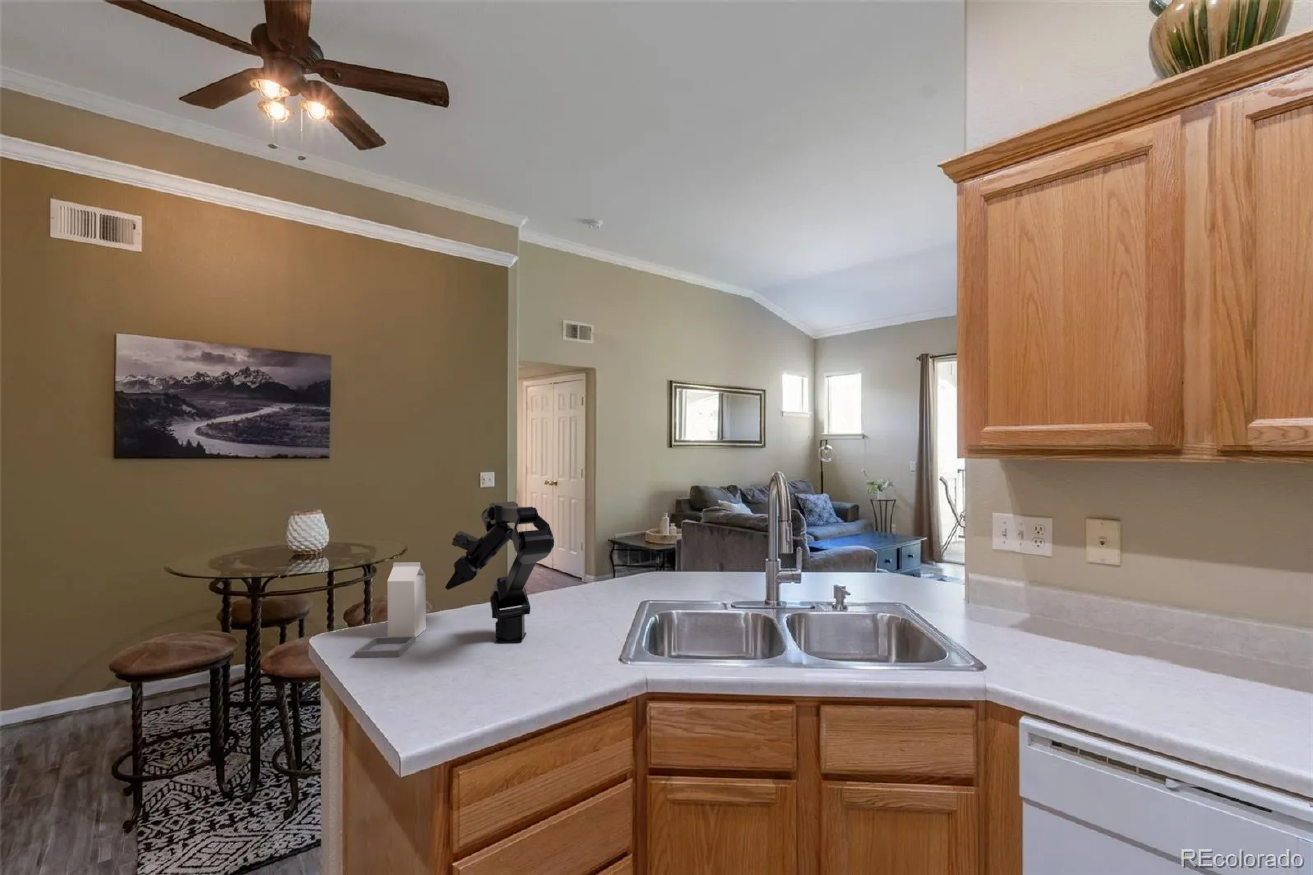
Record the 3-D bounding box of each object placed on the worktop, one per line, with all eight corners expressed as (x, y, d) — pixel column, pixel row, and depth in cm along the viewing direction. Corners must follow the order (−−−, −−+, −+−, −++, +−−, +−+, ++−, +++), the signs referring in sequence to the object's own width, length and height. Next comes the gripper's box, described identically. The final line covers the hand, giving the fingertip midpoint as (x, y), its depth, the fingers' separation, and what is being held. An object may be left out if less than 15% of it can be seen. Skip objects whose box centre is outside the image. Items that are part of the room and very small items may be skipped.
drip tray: (415, 642, 147) (415, 636, 147) (398, 657, 136) (398, 650, 136) (375, 643, 146) (375, 637, 146) (355, 658, 136) (355, 651, 136)
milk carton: (414, 639, 149) (414, 565, 149) (387, 639, 149) (387, 565, 149) (426, 630, 156) (425, 559, 156) (399, 630, 156) (399, 560, 157)
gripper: (478, 516, 165) (439, 555, 164) (462, 527, 146) (417, 571, 146) (507, 543, 166) (468, 582, 165) (494, 557, 147) (450, 602, 146)
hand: (451, 583), depth 155 cm, fingers open, 9 cm apart
